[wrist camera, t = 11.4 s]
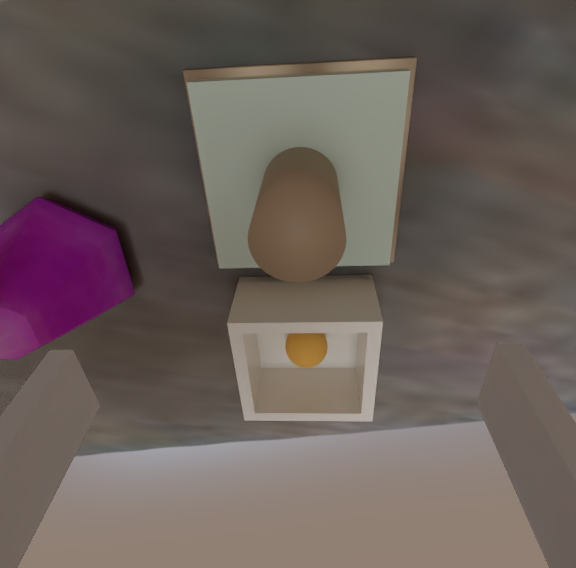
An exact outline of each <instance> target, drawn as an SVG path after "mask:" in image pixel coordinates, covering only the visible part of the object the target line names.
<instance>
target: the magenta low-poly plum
mask: <svg viewBox="0 0 576 568" xmlns="http://www.w3.org/2000/svg"><path fill="white" fill-rule="evenodd" d="M133 295H135V292H134V288H133V284H132V280H131V276H130V273H129V270H128V267H127V263H126V260H125V257H124V253H123V250H122V247H121V244H120V240H119V237H118V234H117V230H116V228H114V227H112V226H110V225H107V224H105V223H103V222H101V221H98V220H96V219H94V218H91V217H89V216H87V215H85V214H82V213H80V212H78V211H76V210H73V209H71V208H69V207H67V206H64V205H62V204H60V203H58V202H55V201H53V200H49V199H44V198H40V197H37V198H35V199H34V200H33V201H31V202H30V203H29V204H28V205H26V206H25V207H24V208H22V209H21V210H20V211H18V212H17V213H16V214H15V215H13V216H12V217H11V218H9V219H8V220H7V221H5V222H4V223H3V224H2V225H0V359H14V360H17V359H19V358H21V357H23V356H24V355H26V354H28V353H30V352H32V351H34V350H36V349H38V348H40V347H41V346H43V345H45V344H47V343H49V342H51V341H53V340H55V339H56V338H58V337H60V336H62V335H64V334H66V333H68V332H70V331H71V330H73V329H75V328H77V327H79V326H81V325H83V324H85V323H87V322H88V321H90V320H92V319H93V318H95V317H97V316H99V315H100V314H102V313H104V312H105V311H107V310H109V309H111V308H112V307H114V306H116V305H117V304H119V303H121V302H123V301H124V300H126V299H128V298H129V297H131V296H133Z"/></svg>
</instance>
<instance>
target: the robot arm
mask: <svg viewBox="0 0 576 568" xmlns="http://www.w3.org/2000/svg"><path fill="white" fill-rule="evenodd" d="M477 405H478V407H479V410H480V412H481V414H482V416H483V419H484V421H485V423H486V425H487V428H488V430H489V432H490V435H491V437H492V439H493V441H494V443H495V446H496V448H497V450H498V453H499V455H500V457H501V459H502V462H503V464H504V466H505V468H506V471H507V473H508V475H509V478H510V480H511V482H512V484H513V487H514V489H515V491H516V494H517V496H518V498H519V500H520V503H521V505H522V507H523V509H524V512H525V514H526V516H527V519H528V520H529V523H530V525H531V528H532V530H533V532H534V534H535V537H536V539H537V541H538V543H539V546H540V548H541V550H542V552H543V555H544V557H545V559H546V561H547V564H548V566H549V568H576V423H575V421H574V420H573V418H572V416H571V415H570V413H569V412H568V410H567V409H566V407H565V406H564V404H563V403H562V401H561V400H560V398H559V397H558V395H557V394H556V392H555V391H554V389H553V388H552V386H551V385H550V383H549V382H548V380H547V379H546V377H545V376H544V374H543V373H542V371H541V370H540V368H539V366H538V365H537V363H536V362H535V360H534V359H533V357H532V356H531V354H530V353H529V351H528V350H527V348H526V347H525V345H524V344H523V343H496V346H495V349H494V352H493V355H492V358H491V361H490V364H489V367H488V370H487V373H486V376H485V379H484V382H483V386H482V389H481V392H480V395H479V398H478V401H477ZM99 408H100V405H99V403H98V400H97V398H96V396H95V394H94V392H93V390H92V388H91V386H90V384H89V382H88V380H87V378H86V376H85V374H84V372H83V369H82V367H81V365H80V363H79V361H78V359H77V357H76V355H75V353H74V351H73V350H49V352H48V353H47V354H46V356H45V357H44V358H43V360H42V361H41V362H40V364H39V365H38V366H37V368H36V369H35V370H34V372H33V373H32V374H31V376H30V377H29V379H28V380H27V381H26V383H25V384H24V385H23V387H22V388H21V389H20V391H19V392H18V393H17V395H16V396H15V397H14V399H13V400H12V401H11V403H10V404H9V405H8V407H7V408H6V409H5V411H4V412H3V413H2V415H1V416H0V568H17V567H18V565H19V563H20V561H21V559H22V558H23V556H24V554H25V552H26V550H27V548H28V546H29V544H30V542H31V540H32V538H33V536H34V534H35V532H36V530H37V528H38V526H39V524H40V522H41V521H42V519H43V517H44V515H45V513H46V511H47V509H48V507H49V505H50V503H51V501H52V499H53V497H54V495H55V493H56V491H57V489H58V488H59V486H60V484H61V482H62V480H63V478H64V476H65V474H66V472H67V470H68V468H69V466H70V464H71V462H72V460H73V458H74V457H75V455H76V453H77V451H78V449H79V447H80V445H81V443H82V441H83V439H84V437H85V435H86V433H87V431H88V429H89V427H90V425H91V423H92V421H93V420H94V418H95V416H96V414H97V412H98V410H99Z"/></svg>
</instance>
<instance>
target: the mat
mask: <svg viewBox="0 0 576 568" xmlns="http://www.w3.org/2000/svg"><path fill="white" fill-rule="evenodd" d="M416 62H417V58H416V57H405V58H386V59H368V60H349V61H331V62H312V63H294V64H276V65H257V66H239V67H220V68H202V69H185V70H183V75H184V80H185V86H186V91H187V97H188V103H189V108H190V114H191V119H192V125H193V131H194V136H195V142H196V148H197V153H198V159H199V164H200V170H201V176H202V181H203V187H204V192H205V198H206V204H207V209H208V215H209V220H210V226H211V232H212V237H213V243H214V248H215V254H216V260H217V265H218V266H219V264H218V258H217V253H216V247H215V241H214V236H213V230H212V224H211V219H210V213H209V207H208V202H207V196H206V190H205V185H204V179H203V173H202V168H201V162H200V156H199V151H198V145H197V139H196V134H195V128H194V122H193V117H192V111H191V105H190V100H189V94H188V88H187V83H186V82H188V81H190V80H192V79H211V78H231V77H250V76H269V75H288V74H307V73H326V72H345V71H364V70H383V69H402V68H407V69H408V70H410V80H409V89H408V98H407V108H406V117H405V126H404V136H403V145H402V154H401V164H400V173H399V182H398V192H397V201H396V210H395V220H394V229H393V238H392V248H391V257H390V262H394V256H395V247H396V238H397V230H398V221H399V212H400V203H401V194H402V186H403V177H404V168H405V159H406V150H407V141H408V133H409V124H410V115H411V106H412V97H413V89H414V80H415V71H416Z"/></svg>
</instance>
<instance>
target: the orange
mask: <svg viewBox="0 0 576 568" xmlns="http://www.w3.org/2000/svg"><path fill="white" fill-rule="evenodd" d="M285 349H286V353H287V356H288V358H289V359H290V360H291V361H292V362H293V363H294V364H295V365H297V366H299V367H302V368H311V367H314V366H316V365H318V364H319V363H321V362H322V361H323V359H324V358H325V356H326V354H327V349H328V345H327V340H326V337H325V336H324V334H323V333H290V334H289V335H288V337H287V340H286V344H285Z"/></svg>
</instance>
